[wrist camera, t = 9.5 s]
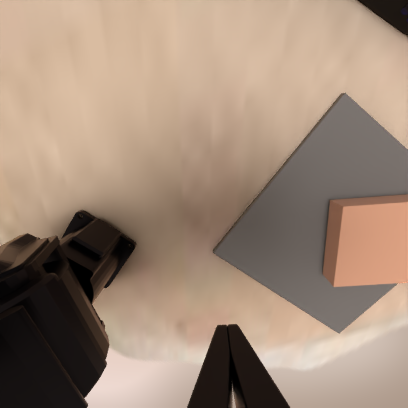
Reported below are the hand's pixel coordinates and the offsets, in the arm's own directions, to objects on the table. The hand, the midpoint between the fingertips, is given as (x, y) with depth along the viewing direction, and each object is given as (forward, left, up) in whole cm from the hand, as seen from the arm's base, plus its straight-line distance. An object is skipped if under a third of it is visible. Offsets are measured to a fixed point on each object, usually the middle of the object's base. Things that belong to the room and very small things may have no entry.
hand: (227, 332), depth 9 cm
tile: (+5, -10, -11) cm, 16 cm away
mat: (+6, -11, -13) cm, 18 cm away
